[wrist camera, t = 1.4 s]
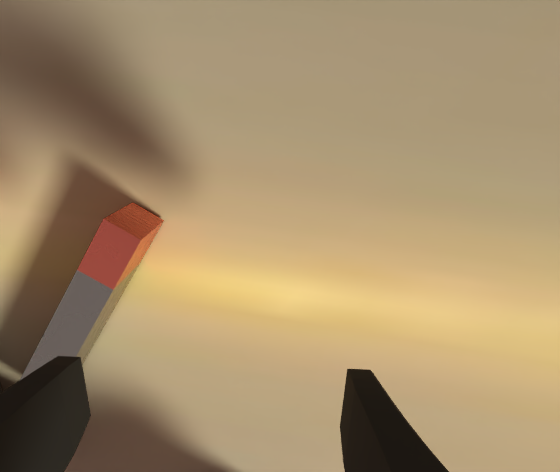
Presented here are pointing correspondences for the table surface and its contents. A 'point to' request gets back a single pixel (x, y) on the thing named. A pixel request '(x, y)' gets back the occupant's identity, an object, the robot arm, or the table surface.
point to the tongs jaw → (97, 285)
